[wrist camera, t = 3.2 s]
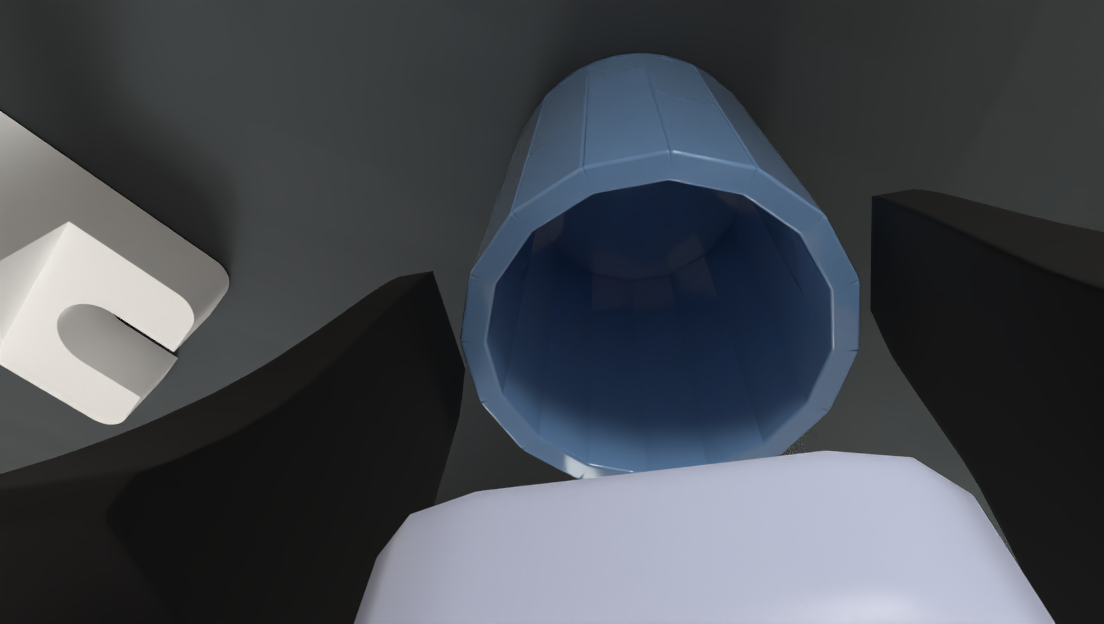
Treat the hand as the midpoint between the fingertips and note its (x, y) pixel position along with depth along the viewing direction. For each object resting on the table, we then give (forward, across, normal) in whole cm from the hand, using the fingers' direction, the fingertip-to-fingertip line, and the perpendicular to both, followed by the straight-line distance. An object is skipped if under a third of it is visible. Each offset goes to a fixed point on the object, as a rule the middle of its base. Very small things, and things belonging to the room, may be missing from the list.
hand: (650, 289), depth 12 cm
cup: (+6, 0, 0) cm, 6 cm away
